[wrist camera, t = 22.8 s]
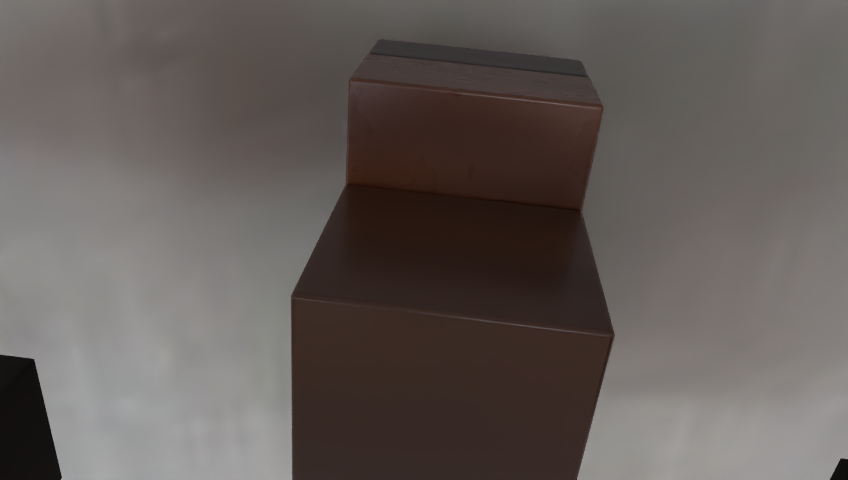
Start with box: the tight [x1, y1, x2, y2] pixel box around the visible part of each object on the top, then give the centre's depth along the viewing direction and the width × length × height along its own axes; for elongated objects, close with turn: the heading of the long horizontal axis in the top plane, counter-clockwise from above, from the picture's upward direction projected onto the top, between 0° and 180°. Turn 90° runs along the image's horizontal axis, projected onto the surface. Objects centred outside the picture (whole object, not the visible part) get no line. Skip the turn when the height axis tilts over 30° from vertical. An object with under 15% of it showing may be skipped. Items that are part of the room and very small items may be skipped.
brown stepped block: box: [291, 39, 615, 480], centre depth 15 cm, size 12×4×8 cm, turn 175°
